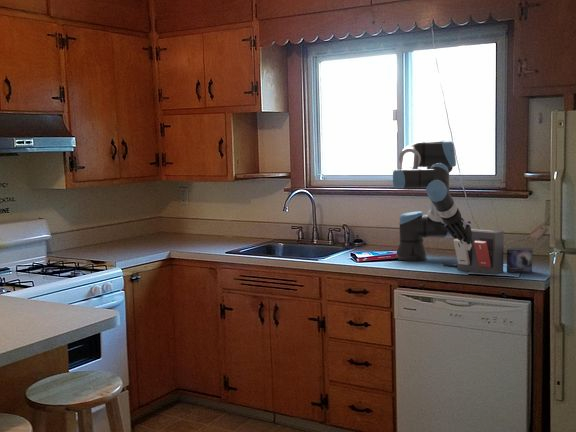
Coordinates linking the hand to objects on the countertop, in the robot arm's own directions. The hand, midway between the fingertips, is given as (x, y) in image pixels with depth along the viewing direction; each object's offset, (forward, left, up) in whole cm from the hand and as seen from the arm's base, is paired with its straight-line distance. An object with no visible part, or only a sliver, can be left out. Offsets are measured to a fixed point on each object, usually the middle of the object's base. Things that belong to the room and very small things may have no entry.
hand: (469, 247), depth 272 cm
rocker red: (0, +14, -10) cm, 17 cm away
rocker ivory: (-10, +14, -10) cm, 20 cm away
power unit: (-10, +18, -13) cm, 25 cm away
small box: (+10, +26, -14) cm, 31 cm away
